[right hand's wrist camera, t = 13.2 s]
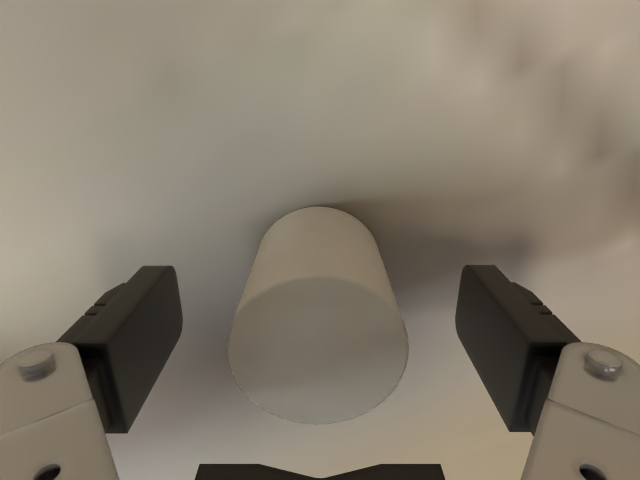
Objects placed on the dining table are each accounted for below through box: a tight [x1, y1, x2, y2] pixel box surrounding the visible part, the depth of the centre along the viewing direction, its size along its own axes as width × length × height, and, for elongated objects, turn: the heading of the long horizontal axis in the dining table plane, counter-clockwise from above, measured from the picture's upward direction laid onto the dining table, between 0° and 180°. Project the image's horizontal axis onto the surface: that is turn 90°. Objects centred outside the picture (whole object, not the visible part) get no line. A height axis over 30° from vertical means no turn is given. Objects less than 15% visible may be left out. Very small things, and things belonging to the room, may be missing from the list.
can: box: [227, 207, 409, 424], centre depth 11 cm, size 4×4×5 cm
